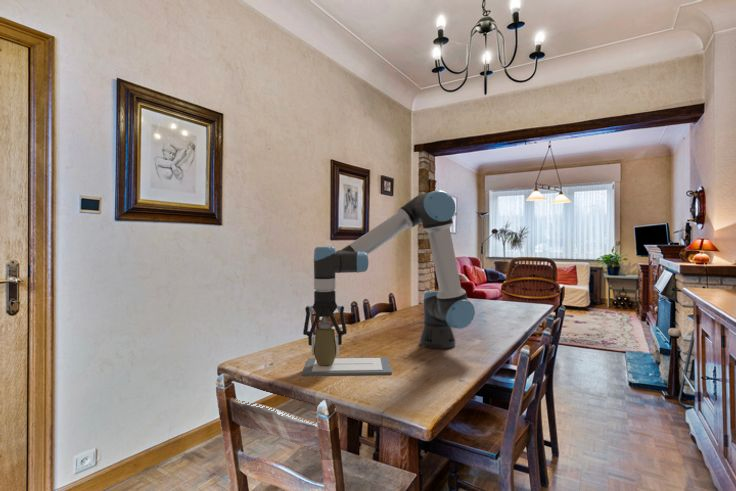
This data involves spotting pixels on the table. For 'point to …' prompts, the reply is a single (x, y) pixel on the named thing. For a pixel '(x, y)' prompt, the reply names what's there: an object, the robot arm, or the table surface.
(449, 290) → the robot arm
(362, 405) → the table surface
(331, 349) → the squeeze bottle
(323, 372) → the writing board
